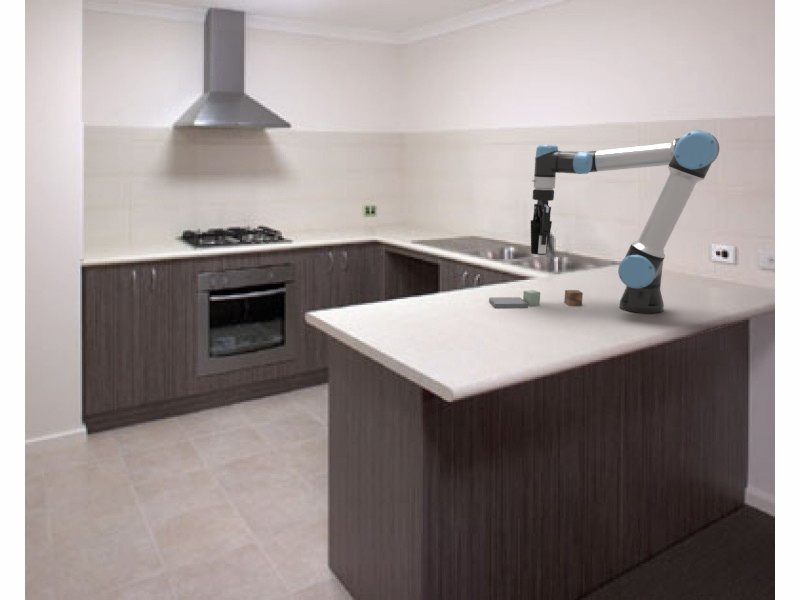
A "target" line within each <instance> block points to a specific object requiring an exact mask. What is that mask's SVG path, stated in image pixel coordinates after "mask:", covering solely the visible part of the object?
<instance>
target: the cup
mask: <svg viewBox="0 0 800 600" xmlns="http://www.w3.org/2000/svg"><path fill="white" fill-rule="evenodd" d="M540 224H541V222H536V220H533V219H531V220H530V254H532V255H538V256H539V255H543V256H545V255H546V254H547V252H548V247H549V241H550V235H551V233H550V234H549V235H548V236H547V246H546V254H538V247H539V235H538V234H540ZM552 225H553V221H552V220H550V231H551V229H552Z"/></svg>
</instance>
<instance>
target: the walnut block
mask: <svg viewBox="0 0 800 600" xmlns="http://www.w3.org/2000/svg"><path fill="white" fill-rule="evenodd" d="M583 295H584V294H583V292H582V291H580V290H579V289H565V290H564V302H563V303H564V304H565V305H567V306H569V307H571V306H573V307H576V306H578V307H579V306H580V307H581V306H583Z"/></svg>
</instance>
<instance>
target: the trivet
mask: <svg viewBox="0 0 800 600" xmlns="http://www.w3.org/2000/svg"><path fill="white" fill-rule="evenodd" d="M488 298H489V299H488V302H489V303H490V304H491V305H492V306H493V308H494V309H528V307H529V306H528V303H527V302H525V301H524V300H523V297H521V296H518V297H517V296H515V297H514V296H512V297H510V296H509V297H508V296H507V297H506V296H505V297H504V296H503V297H502V296H501V297H500V296H499V297H495V296H494V297H491V296H490V297H488Z"/></svg>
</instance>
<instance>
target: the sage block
mask: <svg viewBox="0 0 800 600" xmlns="http://www.w3.org/2000/svg"><path fill="white" fill-rule="evenodd" d="M522 296H523V297H522V299H523V300H524V301H525V302H527V303H528V307H536V306H540V303H541V301H540V300H541V292H540V291H538V290H535V289H531V290H530V289H529V290H523V295H522Z"/></svg>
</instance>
